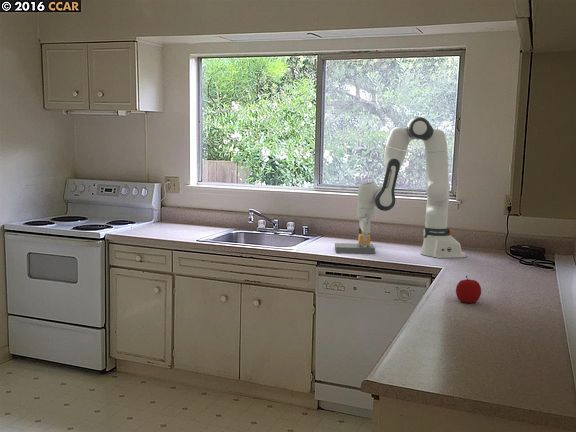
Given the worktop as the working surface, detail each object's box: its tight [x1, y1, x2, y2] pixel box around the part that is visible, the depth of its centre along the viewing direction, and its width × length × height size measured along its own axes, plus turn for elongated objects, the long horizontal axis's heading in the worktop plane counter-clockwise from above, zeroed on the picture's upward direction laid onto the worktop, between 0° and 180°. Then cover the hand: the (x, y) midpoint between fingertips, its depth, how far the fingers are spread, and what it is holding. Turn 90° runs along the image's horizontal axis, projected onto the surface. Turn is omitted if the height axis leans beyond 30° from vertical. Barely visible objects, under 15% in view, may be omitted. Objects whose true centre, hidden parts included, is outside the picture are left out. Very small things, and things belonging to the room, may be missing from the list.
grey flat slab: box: [334, 242, 376, 255], centre depth 323 cm, size 20×12×4 cm, turn 88°
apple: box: [455, 275, 482, 304], centre depth 231 cm, size 9×9×10 cm
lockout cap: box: [357, 233, 371, 244], centre depth 322 cm, size 6×6×4 cm
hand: (364, 239), depth 322 cm, fingers closed on lockout cap, 5 cm apart
